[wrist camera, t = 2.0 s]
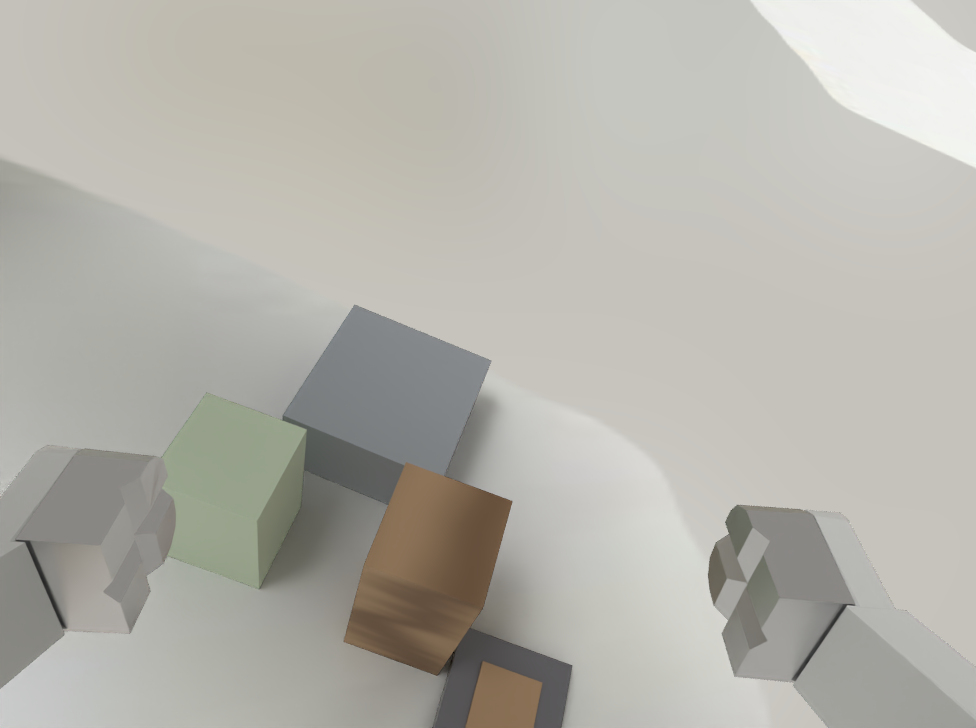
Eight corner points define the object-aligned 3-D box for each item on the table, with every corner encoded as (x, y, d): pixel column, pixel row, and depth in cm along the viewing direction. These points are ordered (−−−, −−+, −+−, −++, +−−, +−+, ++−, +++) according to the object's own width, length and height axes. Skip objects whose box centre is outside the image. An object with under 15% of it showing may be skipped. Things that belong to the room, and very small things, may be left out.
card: (424, 753, 33) (428, 749, 32) (460, 630, 37) (464, 624, 36) (544, 796, 33) (550, 793, 32) (567, 669, 37) (573, 664, 36)
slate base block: (281, 462, 41) (282, 415, 37) (347, 355, 46) (354, 304, 43) (425, 522, 40) (441, 480, 37) (473, 406, 46) (491, 360, 43)
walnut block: (343, 641, 35) (364, 564, 28) (378, 552, 38) (405, 462, 31) (437, 675, 35) (483, 608, 28) (464, 584, 39) (512, 501, 31)
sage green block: (166, 555, 36) (145, 480, 30) (216, 475, 39) (206, 392, 33) (259, 589, 36) (256, 521, 30) (301, 506, 39) (306, 429, 33)
